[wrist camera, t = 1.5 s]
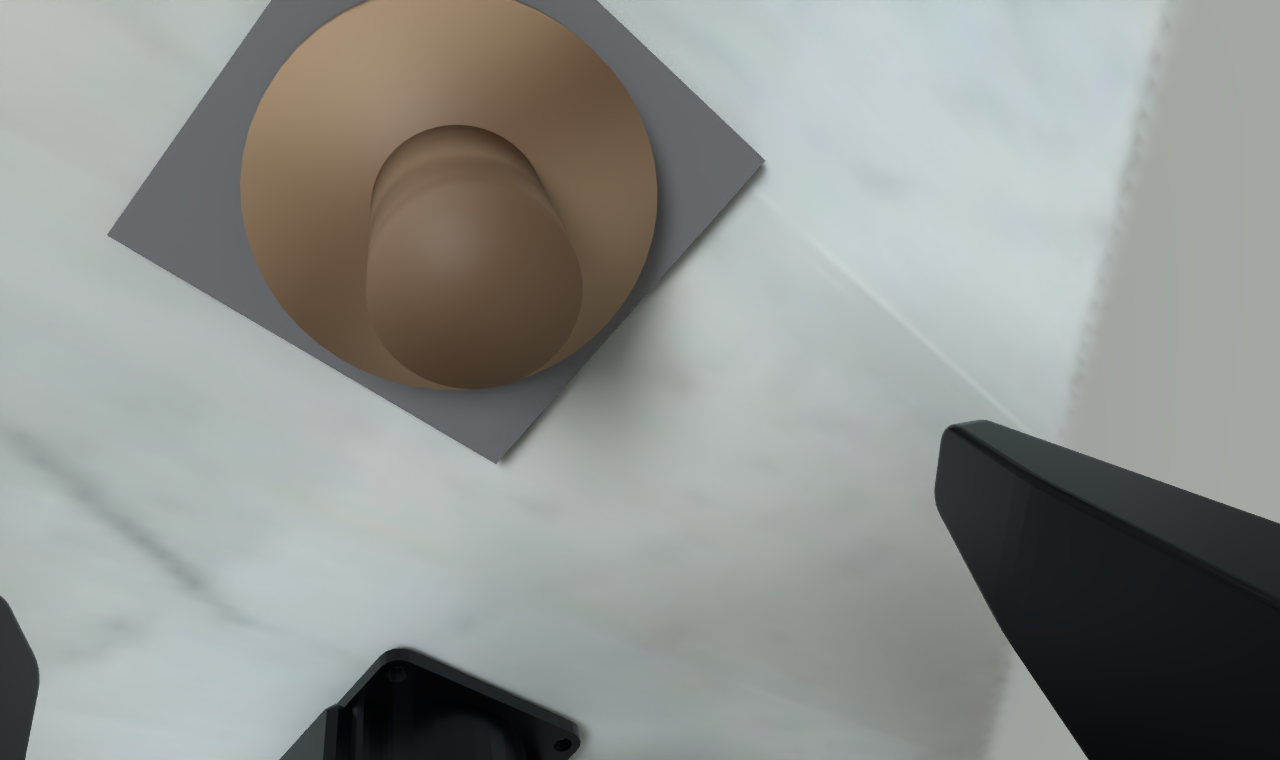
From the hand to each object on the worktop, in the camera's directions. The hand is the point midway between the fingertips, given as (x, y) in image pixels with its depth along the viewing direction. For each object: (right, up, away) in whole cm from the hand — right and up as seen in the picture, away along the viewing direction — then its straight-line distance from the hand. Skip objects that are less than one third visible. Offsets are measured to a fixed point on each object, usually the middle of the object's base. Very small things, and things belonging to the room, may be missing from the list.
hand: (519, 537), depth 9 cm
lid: (-2, +5, +9) cm, 11 cm away
